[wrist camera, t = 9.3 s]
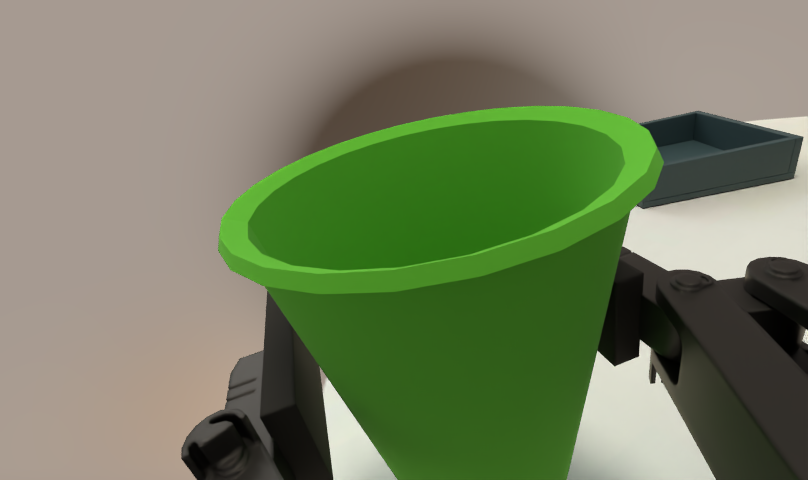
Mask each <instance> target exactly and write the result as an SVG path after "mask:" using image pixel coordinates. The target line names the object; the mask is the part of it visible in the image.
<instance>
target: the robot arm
mask: <svg viewBox="0 0 808 480" xmlns="http://www.w3.org/2000/svg"><path fill="white" fill-rule="evenodd" d="M806 329H807V330H808V264H805V263H802V262H800V261H797V260H792V259H787V258H782V257H766V258H759V259H756V260H754V261H751V262H750V263H749V265H748V266H747V269H746V274H745V277H743V278H735V279H727V280H719V281H716V280H715V279H714V278H712V277H711V276H709V275H706V274H704V273H701V272H697V271H692V270H672V271H667V270H665V269H663V268H661V267H659V266H658V265H656V264H654V263H652V262H650V261H649V260H647V259H645V258H643V257H641V256H639V255H638V254H636V253H634V252H633V253H632V252H631V251H630V250H628V249H627V248H625V247H622V248H621V252H620V257H619V261H618V265H617V269H616V273H615V278H614V282H613V286H612V290H611V295H610V299H609V303H608V307H607V311H606V316H605V320H604V324H603V328H602V332H601V337H600V341H599V345H598V349H597V351H599V352H600V353H601V354H602V355H603V356H604V357H605V358H606V359H607V360H608V361H609V362H610V363H612V364H613V365H614V366H616V365H619V364H621V363H624V362H626V361H629V360H631V359H634V358H636V357H638V356H639V344H640V340H642V341H643V342H644V343H645V344H647V345H648V346H649V347H651V357H650V369H649V379H650V384H652V383H655V378H656V372H657V373H658V374H659V376H660V378H661V383H663V384H664V385H665V387H666V389H667V391H668V393H669V394H670V396H671V398H672V400H673V402H674V404H675V405H676V407H677V409H678V411H679V413H680V415H681V416H682V418H683V420H684V422H685V424H686V425H687V427H688V429H689V431H690V433H691V435H692V436H693V438H694V440H695V442H696V444H697V446H698V447H699V449H700V451H701V453H702V455H703V456H704V458H705V460H706V462H707V464H708V466H709V467H710V469H711V471H712V473H713V475H714V477H715V478H716V480H808V345H807V344H806V343H804V342H803V341H802V340H803V336H804V333H805V330H806ZM228 388H229V390H228V393H227V399H226V400H227V403H226V405H225V409H224V410H220V411H218V412H216V413H214V414H212V415H210V416H208V417H206V418H205V419H204V420H203V421H201V422H200V423H199V424H198V425H196V426H195V428H194V429H193V430H192V431H191V432H190V434H189V435H188V436H187V438H186V440H185V442H184V445H183V447H182V460H183V461H184V463H185V464H186V465H187V467H188V468H189V469H190V470H191V472H192V473H193V475H194V476H195V478H196V479H197V480H333V473H332V465H331V457H330V449H329V441H328V433H327V425H326V416H325V408H324V400H323V392H322V384H321V376H320V368H319V365H318V363H317V362H316V360H315V359H314V357H313V356H312V355H311V353H310V352H309V350H308V349H307V347H306V346H305V344H304V343H303V341H302V340H301V339H300V337H299V336H298V334H297V333H296V331H295V330H294V328H293V327H292V325H291V324H290V323H289V321H288V320H287V318H286V317H285V315H284V314H283V312H282V311H281V309H280V308H279V307H278V305H277V304H276V302H275V301H274V299H273V298H272V296H271V295H270V293H269V292H268V291H267V306H266V322H265V339H264V350H263V351H260V352H257V353H255V354H252V355H249V356H246V357H243V358H240V359H239V361H238V362H237V364H236V366H235V367H234V369H233V371H232V372H231V375H230V381H229V387H228Z"/></svg>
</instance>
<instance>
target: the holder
mask: <svg viewBox="0 0 808 480" xmlns="http://www.w3.org/2000/svg"><path fill="white" fill-rule="evenodd" d="M639 125H641V126H643V127H644V128H646V129H647V130H649V132H650V134H651V136H652V138H653V140H654V141H655V144H656V146H657V148H658V150H659V152H660V155H661V157H662V159H663V161H664V164H663V167H662V170H661V172H660V175H659V178H658V181H657V184H656V186H655V189H654V190H653V191H651V192H650V193H649V194H648V195H647V196H646V197H645V198H644V199H643V200H642V201H640V202H639V203H638V204H637V205H638V206H640V207H641V208H647V207H652V206H657V205H662V204H667V203H672V202H677V201H682V200H687V199H692V198H697V197H702V196H707V195H711V194H716V193H721V192H726V191H731V190H736V189H741V188H746V187H751V186H756V185H761V184H766V183H771V182H776V181H781V180H786V179H791V178H794V174H795V171H796V166H797V162H798V158H799V154H800V150H801V145H802V141H803V137H802V136H798V135H794V134H790V133H786V132H782V131H778V130H773V129H769V128H765V127H761V126H757V125H753V124H749V123H745V122H741V121H737V120H733V119H729V118H725V117H721V116H717V115H713V114H709V113H705V112H701V111H695V112H690V113H686V114H681V115H677V116H672V117H667V118H663V119H658V120H653V121H649V122H644V123H639Z"/></svg>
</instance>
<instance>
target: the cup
mask: <svg viewBox="0 0 808 480" xmlns="http://www.w3.org/2000/svg"><path fill="white" fill-rule="evenodd" d="M663 164H664V161H663V159H662V157H661V155H660V152H659V150H658V148H657V146H656V144H655V141H654V140H653V138H652V136H651V134H650V132H649V130H647V129H646V128H644V127H643V126H641V125H639V124H637V123H636V122H634V121H633V120H631V119H629V118H627V117H624V116H620V115H616V114H613V113H609V112H605V111H601V110H595V109H586V108H577V107H568V106H565V107H564V106H528V107H510V108H496V109H489V110H479V111H471V112H464V113H458V114H452V115H446V116H440V117H434V118H430V119H425V120H421V121H417V122H412V123H407V124H403V125H399V126H395V127H391V128H388V129H384V130H380V131H377V132H373V133H369V134H366V135H363V136H360V137H357V138H354V139H351V140H348V141H345V142H342V143H339V144H336V145H334V146H331V147H329V148H326V149H323V150H321V151H319V152H316V153H314V154H311V155H308V156H306V157H304V158H302V159H300V160H298V161H296V162H294V163H292V164H290V165H287V166H285V167H283V168H281V169H279V170H278V171H276V172H274V173H273V174H271V175H269V176H268V177H266V178H264V179H263V180H261V181H260V182H258V183H256V184H255V185H254V186H252V187H251V188H250V189H249V190H247V191H246V192H245V193H244V194H243V195H241V196H240V197H239V198H238V199H236V200H235V201H234V203H233V204H232V205H231V207H230V208H229V209H228V211H227V212H226V214H225V215H224V216H223V218H222V220H221V227H220V234H219V245H218V246H219V247H218V251H219V253H220V254H221V256H222V257H223V259H224V260H225V262H226V264H227V265H228V267H229V268H230V270H232V271H234V272H236V273H238V274H240V275H242V276H244V277H246V278H248V279H250V280H252V281H254V282H256V283H258V284H260V285H262V286H265V288H266V289H267V290H268V292H269V293H270V295H271V296H272V298H273V299H274V301H275V302H276V304H277V305H278V307H279V308H280V309H281V311H282V312H283V314H284V315H285V317H286V318H287V320H288V321H289V323H290V324H291V325H292V327H293V328H294V330H295V331H296V333H297V334H298V336H299V337H300V339H301V340H302V341H303V343H304V344H305V346H306V347H307V349H308V350H309V352H310V353H311V355H312V356H313V357H314V359H315V360H316V362H317V363H318V365H319V366H320V368H321V369H322V370H323V372H324V373H325V375H326V376H327V378H328V379H329V381H330V382H331V384H332V385H333V386H334V388H335V389H336V391H337V392H338V394H339V395H340V397H341V398H342V400H343V401H344V402H345V404H346V405H347V407H348V408H349V410H350V411H351V413H352V414H353V416H354V417H355V418H356V420H357V421H358V423H359V424H360V426H361V427H362V429H363V430H364V432H365V433H366V434H367V436H368V437H369V439H370V440H371V442H372V443H373V445H374V446H375V447H376V449H377V450H378V452H379V453H380V455H381V456H382V458H383V459H384V461H385V462H386V463H387V465H388V466H389V468H390V469H391V471H392V472H393V474H394V475H395V477H396V478H397V479H398V480H567V476H568V471H569V467H570V463H571V459H572V455H573V450H574V446H575V442H576V438H577V434H578V429H579V425H580V421H581V417H582V412H583V408H584V404H585V400H586V396H587V391H588V387H589V383H590V379H591V375H592V370H593V366H594V362H595V358H596V353H597V349H598V345H599V341H600V337H601V332H602V328H603V324H604V320H605V316H606V311H607V307H608V303H609V299H610V295H611V290H612V286H613V282H614V278H615V273H616V269H617V265H618V261H619V257H620V252H621V248H622V244H623V240H624V236H625V231H626V227H627V223H628V219H629V214H630V211H631V210H632V209H633V208H634V207H635V206H636V205H637V204H638V203H639V202H640V201H642V200H643V199H644V198H645V197H646V196H647V195H648V194H649V193H650V192H651V191H653V190H654V189H655V186H656V184H657V181H658V178H659V175H660V172H661V170H662V167H663Z"/></svg>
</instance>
